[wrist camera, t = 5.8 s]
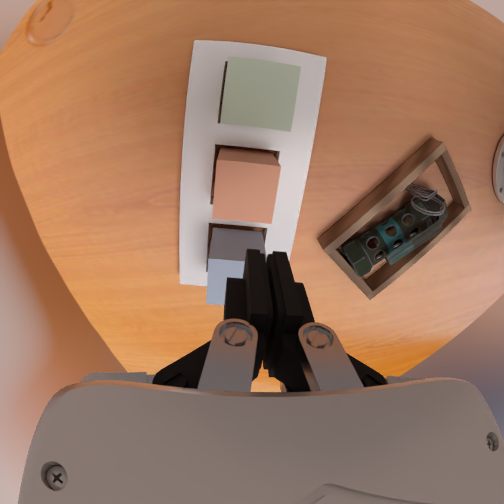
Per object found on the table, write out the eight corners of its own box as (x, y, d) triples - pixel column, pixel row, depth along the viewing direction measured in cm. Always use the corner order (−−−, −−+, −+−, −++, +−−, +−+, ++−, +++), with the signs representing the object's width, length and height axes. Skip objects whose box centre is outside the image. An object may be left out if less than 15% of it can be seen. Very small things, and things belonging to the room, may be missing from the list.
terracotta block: (220, 147, 26) (216, 159, 21) (271, 152, 27) (281, 166, 21) (216, 195, 28) (211, 218, 23) (264, 199, 29) (271, 223, 24)
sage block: (230, 66, 21) (228, 56, 16) (286, 74, 21) (300, 66, 16) (223, 118, 23) (220, 123, 18) (278, 125, 24) (290, 131, 19)
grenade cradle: (430, 138, 26) (443, 142, 24) (460, 202, 30) (471, 209, 28) (317, 239, 32) (323, 249, 30) (363, 288, 37) (370, 300, 34)
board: (197, 44, 21) (194, 39, 19) (320, 60, 22) (326, 57, 20) (182, 274, 34) (179, 283, 32) (279, 281, 35) (282, 291, 33)
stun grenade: (349, 261, 35) (432, 207, 31) (368, 294, 30) (460, 231, 26) (329, 228, 32) (421, 168, 28) (349, 260, 27) (454, 190, 23)
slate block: (213, 227, 29) (208, 258, 23) (261, 231, 29) (267, 263, 24) (210, 268, 31) (206, 303, 26) (255, 271, 32) (259, 307, 27)
